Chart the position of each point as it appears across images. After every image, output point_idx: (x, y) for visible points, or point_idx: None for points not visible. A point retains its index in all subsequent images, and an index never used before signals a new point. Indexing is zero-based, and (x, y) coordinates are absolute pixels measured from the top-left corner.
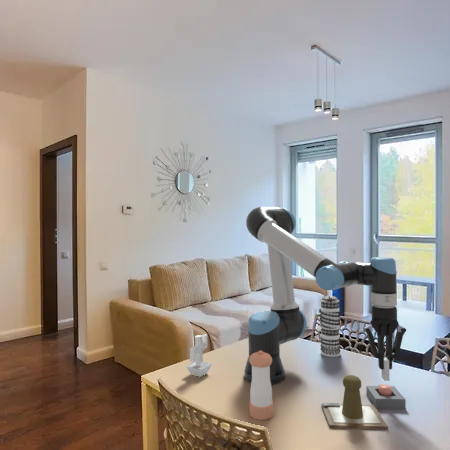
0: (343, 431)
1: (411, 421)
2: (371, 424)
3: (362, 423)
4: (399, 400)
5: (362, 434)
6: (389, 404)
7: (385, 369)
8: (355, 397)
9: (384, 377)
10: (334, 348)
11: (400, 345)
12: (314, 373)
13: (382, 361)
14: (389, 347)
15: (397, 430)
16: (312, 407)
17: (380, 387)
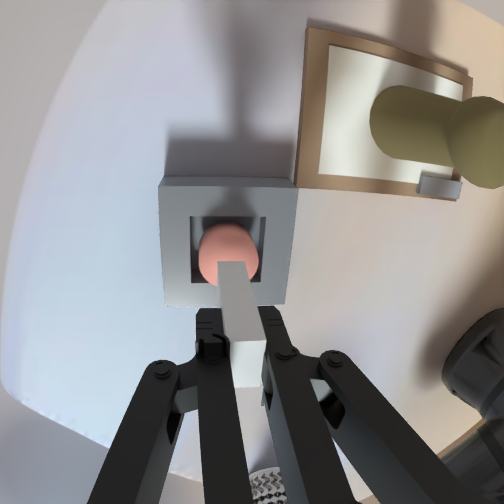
0: (441, 51)
1: (184, 78)
2: (363, 48)
3: (389, 60)
4: (186, 185)
5: (398, 22)
6: (232, 180)
7: (248, 297)
8: (450, 98)
9: (247, 271)
10: (270, 486)
11: (111, 451)
12: None
13: (271, 341)
14: (231, 435)
15: (273, 19)
16: (470, 195)
17: (254, 256)
